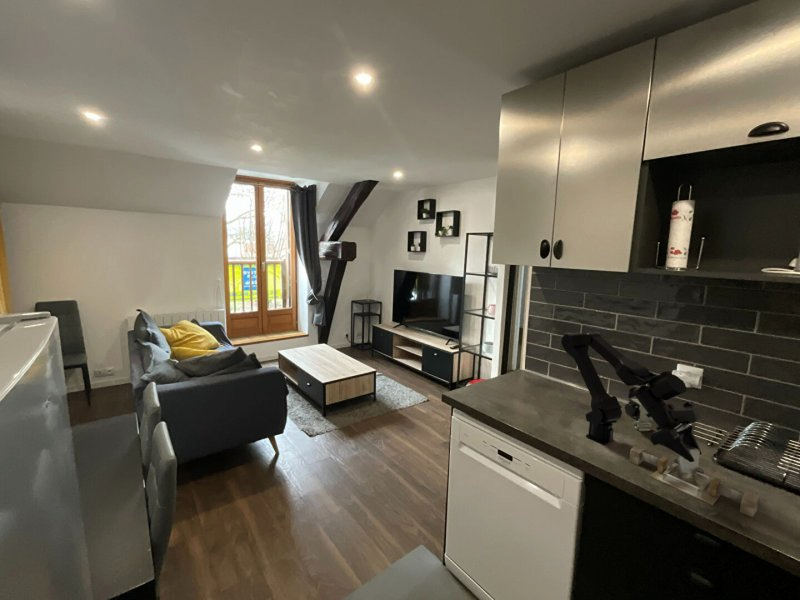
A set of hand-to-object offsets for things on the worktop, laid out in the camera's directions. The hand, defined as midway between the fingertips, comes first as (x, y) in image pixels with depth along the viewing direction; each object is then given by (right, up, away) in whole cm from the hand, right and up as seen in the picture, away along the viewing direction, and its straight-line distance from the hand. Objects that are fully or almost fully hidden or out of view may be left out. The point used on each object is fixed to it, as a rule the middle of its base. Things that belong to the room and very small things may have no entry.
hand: (696, 458), depth 98 cm
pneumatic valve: (+7, -4, +32) cm, 33 cm away
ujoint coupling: (-1, -8, +2) cm, 8 cm away
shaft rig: (-1, -8, +2) cm, 9 cm away
